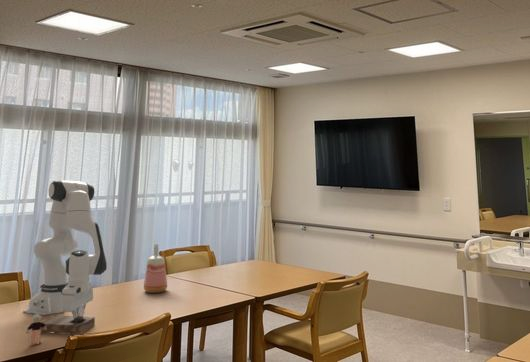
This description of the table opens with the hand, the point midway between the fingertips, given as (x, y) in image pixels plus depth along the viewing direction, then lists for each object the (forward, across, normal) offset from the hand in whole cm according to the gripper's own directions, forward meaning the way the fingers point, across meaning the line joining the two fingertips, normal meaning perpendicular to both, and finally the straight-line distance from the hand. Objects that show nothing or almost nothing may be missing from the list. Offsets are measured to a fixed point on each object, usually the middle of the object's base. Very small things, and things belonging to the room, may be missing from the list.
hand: (78, 315), depth 195 cm
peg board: (+6, 0, -5) cm, 8 cm away
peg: (+4, 0, 0) cm, 4 cm away
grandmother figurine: (+6, +19, -8) cm, 22 cm away
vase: (+7, -71, +10) cm, 72 cm away
